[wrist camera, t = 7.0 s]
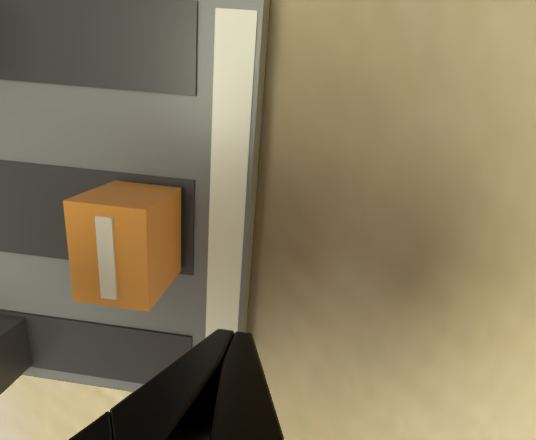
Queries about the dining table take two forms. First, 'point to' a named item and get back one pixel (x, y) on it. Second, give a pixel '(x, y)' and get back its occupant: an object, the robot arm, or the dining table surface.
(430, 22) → the dining table surface
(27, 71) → the panel
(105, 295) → the handle
